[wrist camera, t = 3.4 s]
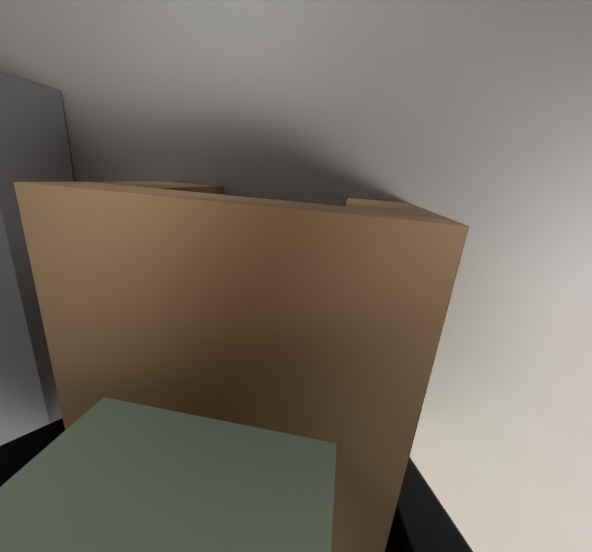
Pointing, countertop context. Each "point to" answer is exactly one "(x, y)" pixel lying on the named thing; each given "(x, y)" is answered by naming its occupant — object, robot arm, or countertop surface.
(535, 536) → the countertop surface
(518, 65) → the countertop surface
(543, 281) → the countertop surface
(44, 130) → the dock
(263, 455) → the pale green block
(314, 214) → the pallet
